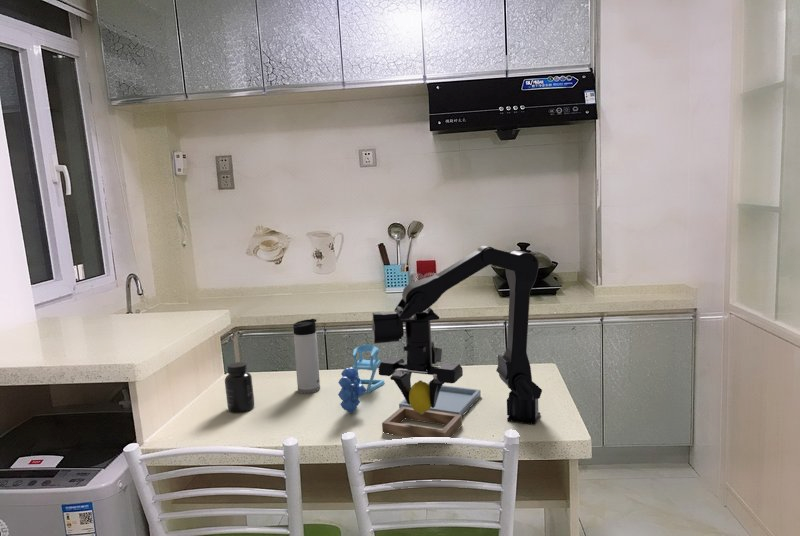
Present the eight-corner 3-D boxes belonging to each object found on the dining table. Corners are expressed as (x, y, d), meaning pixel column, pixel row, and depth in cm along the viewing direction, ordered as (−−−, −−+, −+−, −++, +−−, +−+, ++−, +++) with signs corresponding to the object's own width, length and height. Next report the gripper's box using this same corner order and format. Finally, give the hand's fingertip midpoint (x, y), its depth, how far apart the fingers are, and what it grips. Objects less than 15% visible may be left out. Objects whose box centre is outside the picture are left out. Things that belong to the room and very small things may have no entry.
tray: (480, 396, 148) (480, 389, 147) (459, 419, 134) (459, 412, 133) (425, 389, 155) (424, 383, 155) (399, 410, 141) (399, 403, 140)
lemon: (432, 419, 125) (430, 385, 124) (407, 418, 127) (406, 384, 125) (435, 409, 131) (434, 376, 130) (412, 409, 132) (410, 376, 131)
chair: (350, 392, 155) (347, 350, 154) (359, 381, 163) (356, 342, 162) (376, 393, 154) (374, 351, 152) (384, 382, 162) (382, 342, 160)
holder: (462, 425, 130) (461, 415, 130) (445, 444, 121) (444, 433, 121) (402, 416, 137) (402, 406, 137) (382, 433, 128) (382, 422, 128)
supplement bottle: (246, 401, 152) (242, 358, 150) (259, 407, 147) (255, 363, 145) (222, 409, 147) (218, 365, 146) (235, 415, 142) (231, 370, 141)
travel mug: (325, 389, 158) (320, 320, 155) (303, 395, 155) (298, 324, 152) (315, 383, 163) (310, 316, 161) (294, 389, 160) (289, 320, 157)
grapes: (361, 422, 134) (358, 374, 133) (334, 421, 136) (331, 373, 134) (373, 404, 146) (371, 359, 144) (348, 403, 147) (346, 359, 145)
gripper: (469, 333, 129) (471, 398, 131) (397, 328, 138) (400, 389, 140) (452, 346, 119) (455, 416, 121) (375, 339, 128) (379, 405, 130)
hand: (421, 405), depth 128 cm, fingers closed on lemon, 5 cm apart
